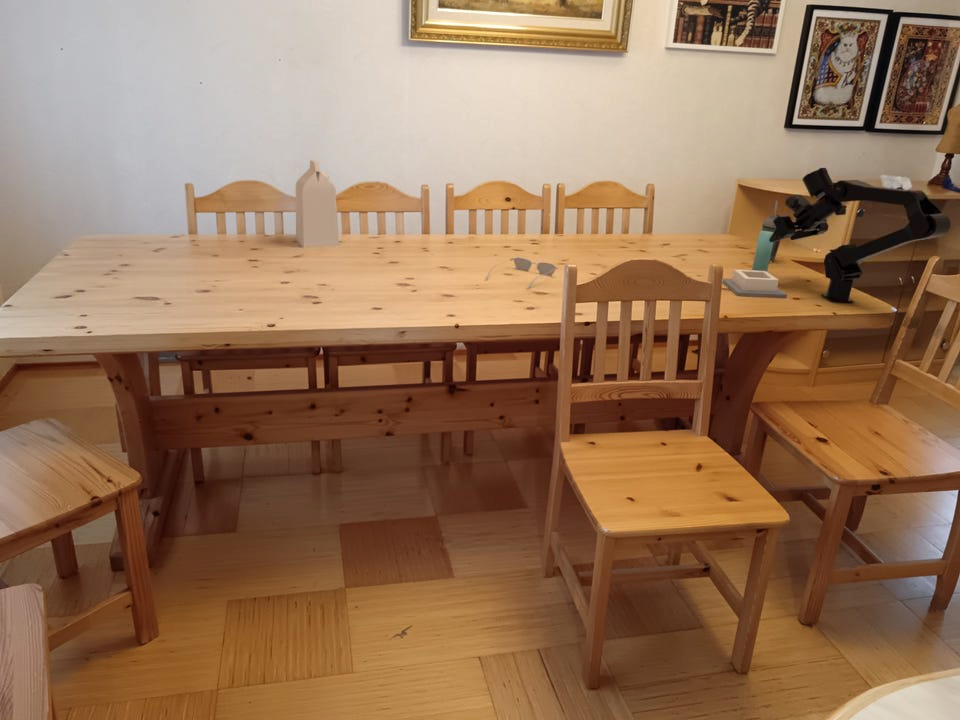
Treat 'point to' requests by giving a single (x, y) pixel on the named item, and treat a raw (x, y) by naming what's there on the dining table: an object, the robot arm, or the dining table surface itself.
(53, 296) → the dining table surface
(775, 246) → the beverage cup
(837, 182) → the robot arm
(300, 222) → the milk
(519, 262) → the eyeglasses
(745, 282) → the socket block
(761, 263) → the peg
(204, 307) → the dining table surface
